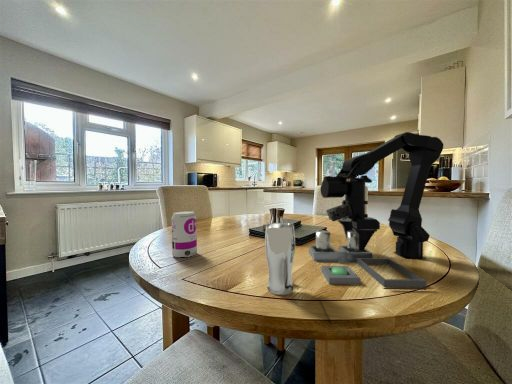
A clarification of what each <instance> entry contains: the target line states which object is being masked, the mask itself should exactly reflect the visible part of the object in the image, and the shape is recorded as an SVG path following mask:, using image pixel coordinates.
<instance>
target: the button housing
mask: <svg viewBox="0 0 512 384" xmlns="http://www.w3.org/2000/svg"><path fill="white" fill-rule="evenodd" d="M334 267H340V268H344V269H346V270H347V275H333V274H332V268H334ZM321 273H322V275H323V277H324V278H325V280H326V282H327V283H328V284H329V285H360V283H361V278H360V276H359V275H358V274H356V272H355V271H353V269H352V268H351V267H350V266H349V265H321Z"/></svg>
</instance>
